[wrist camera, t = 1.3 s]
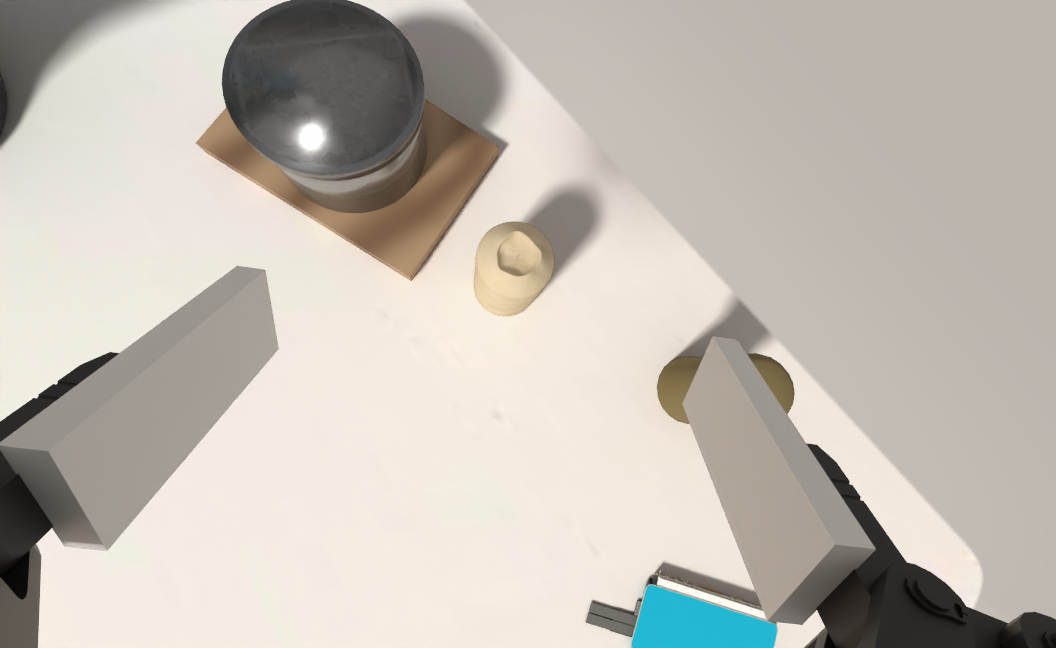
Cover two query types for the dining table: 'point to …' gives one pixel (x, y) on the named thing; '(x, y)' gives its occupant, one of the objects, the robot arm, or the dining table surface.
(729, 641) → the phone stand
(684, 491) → the dining table surface
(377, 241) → the wooden board
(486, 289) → the candle
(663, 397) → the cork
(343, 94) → the round metal tin
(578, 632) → the dining table surface
